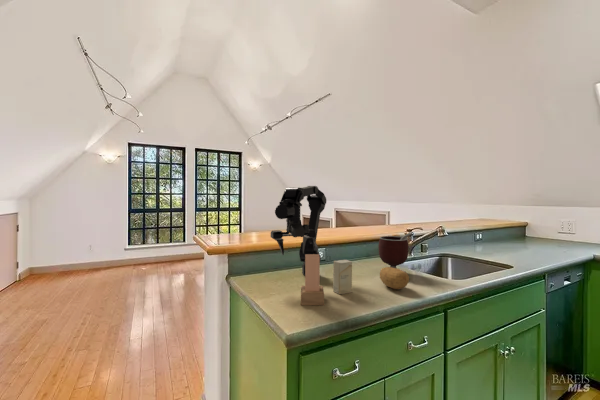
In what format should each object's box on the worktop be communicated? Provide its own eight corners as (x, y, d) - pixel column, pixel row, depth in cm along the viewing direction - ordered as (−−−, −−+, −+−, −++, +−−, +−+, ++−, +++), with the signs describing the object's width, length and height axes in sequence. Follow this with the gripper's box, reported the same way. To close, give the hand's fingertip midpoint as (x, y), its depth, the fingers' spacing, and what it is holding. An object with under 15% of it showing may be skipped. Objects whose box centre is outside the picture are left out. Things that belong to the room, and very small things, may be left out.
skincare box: (339, 294, 108) (339, 263, 108) (332, 291, 112) (332, 260, 112) (352, 292, 111) (352, 261, 111) (345, 288, 115) (345, 259, 115)
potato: (391, 281, 125) (392, 263, 125) (415, 291, 112) (415, 271, 112) (373, 284, 121) (373, 265, 121) (395, 295, 108) (395, 274, 108)
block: (305, 286, 105) (305, 254, 104) (318, 286, 105) (318, 254, 104) (305, 291, 100) (305, 257, 99) (319, 291, 100) (319, 257, 99)
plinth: (301, 296, 106) (301, 285, 106) (322, 296, 106) (322, 285, 106) (300, 305, 98) (300, 292, 98) (324, 305, 98) (324, 292, 98)
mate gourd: (378, 276, 133) (379, 233, 133) (377, 268, 147) (378, 229, 146) (414, 278, 129) (414, 234, 129) (409, 270, 143) (410, 230, 142)
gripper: (276, 219, 109) (276, 260, 109) (321, 218, 115) (321, 256, 115) (270, 217, 120) (270, 254, 120) (311, 216, 125) (311, 251, 126)
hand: (293, 254), depth 120 cm, fingers open, 9 cm apart
